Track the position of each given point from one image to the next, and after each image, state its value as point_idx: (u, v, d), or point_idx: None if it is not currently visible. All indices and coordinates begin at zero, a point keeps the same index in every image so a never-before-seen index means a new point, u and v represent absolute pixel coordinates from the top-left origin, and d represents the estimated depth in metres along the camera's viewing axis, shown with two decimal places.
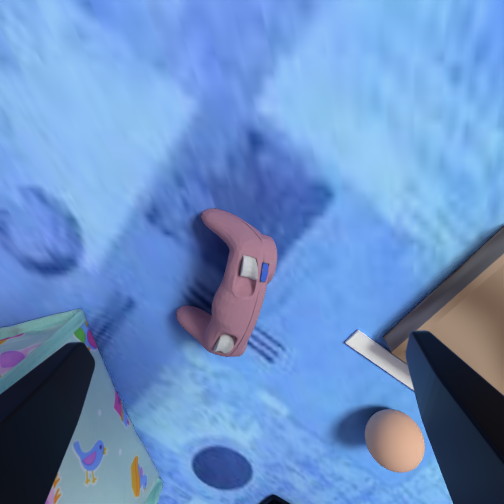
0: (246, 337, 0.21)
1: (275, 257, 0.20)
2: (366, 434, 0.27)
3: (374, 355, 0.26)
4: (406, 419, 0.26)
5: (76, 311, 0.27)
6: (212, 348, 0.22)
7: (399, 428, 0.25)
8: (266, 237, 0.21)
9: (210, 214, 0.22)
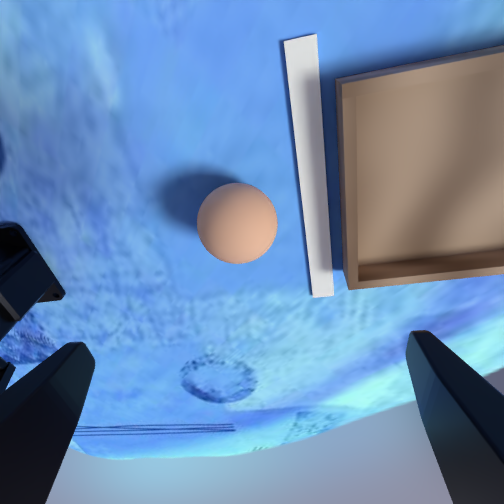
0: None
1: None
2: (210, 194, 0.17)
3: (302, 98, 0.16)
4: (273, 207, 0.18)
5: None
6: None
7: (260, 204, 0.17)
8: None
9: None
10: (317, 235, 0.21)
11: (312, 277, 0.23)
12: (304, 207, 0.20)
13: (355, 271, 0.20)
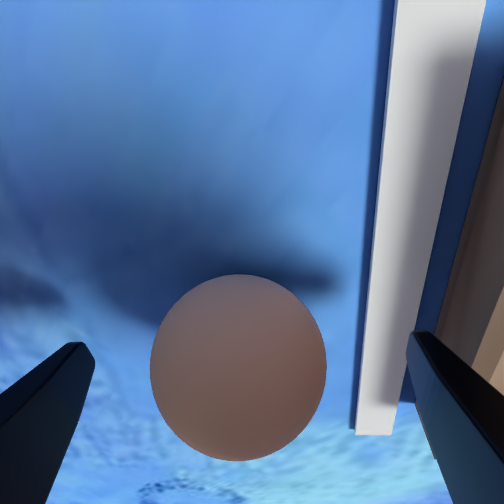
0: None
1: None
2: (182, 306, 0.08)
3: (417, 103, 0.07)
4: (320, 336, 0.08)
5: None
6: None
7: (299, 348, 0.07)
8: None
9: None
10: (385, 357, 0.11)
11: (360, 411, 0.13)
12: (370, 314, 0.10)
13: None
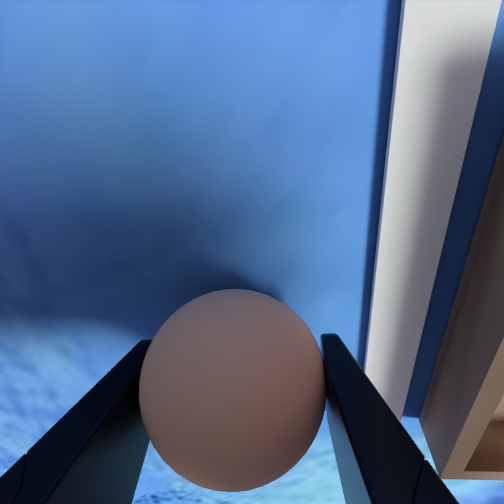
0: None
1: None
2: (172, 325, 0.07)
3: (425, 109, 0.06)
4: (320, 356, 0.08)
5: None
6: None
7: (298, 373, 0.06)
8: None
9: None
10: (388, 372, 0.11)
11: None
12: (373, 329, 0.10)
13: (464, 459, 0.10)
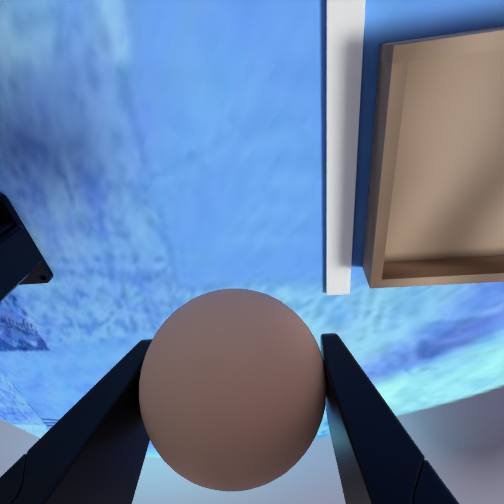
0: None
1: None
2: (172, 324, 0.07)
3: (340, 65, 0.14)
4: (320, 356, 0.08)
5: None
6: None
7: (298, 372, 0.06)
8: None
9: None
10: (340, 225, 0.19)
11: (328, 272, 0.21)
12: (328, 193, 0.18)
13: (380, 267, 0.18)
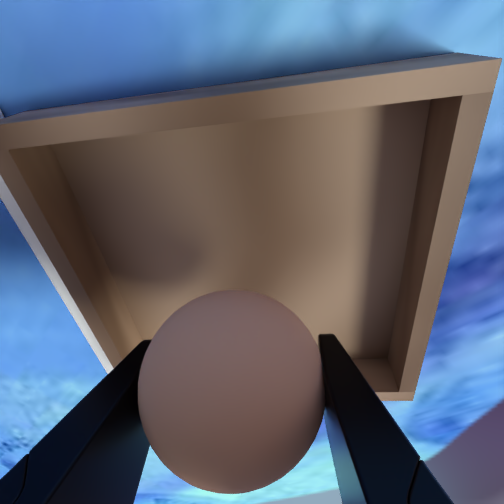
0: None
1: None
2: (171, 326, 0.07)
3: None
4: (319, 357, 0.08)
5: None
6: None
7: (297, 374, 0.06)
8: None
9: None
10: None
11: (107, 370, 0.16)
12: (57, 288, 0.13)
13: None
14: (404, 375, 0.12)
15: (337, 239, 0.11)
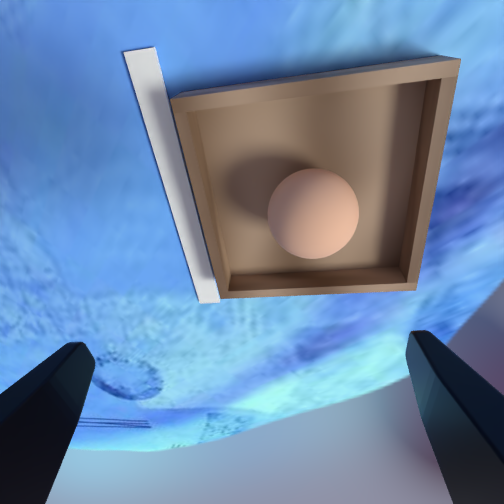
0: None
1: None
2: (287, 179, 0.15)
3: (152, 109, 0.16)
4: None
5: None
6: None
7: (348, 193, 0.15)
8: None
9: None
10: (192, 243, 0.21)
11: (195, 283, 0.23)
12: (174, 215, 0.20)
13: (222, 281, 0.20)
14: (410, 268, 0.18)
15: (367, 173, 0.17)
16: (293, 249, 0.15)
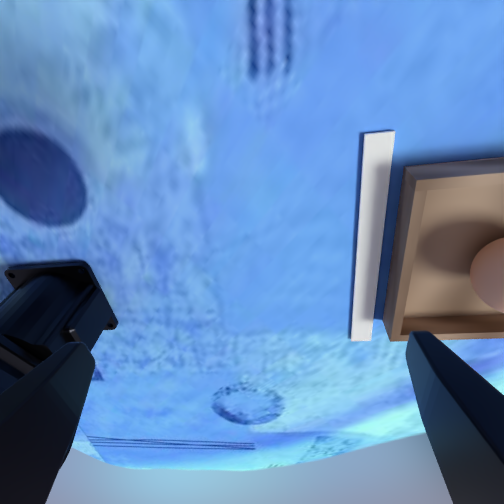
0: None
1: None
2: None
3: (372, 180, 0.18)
4: None
5: None
6: None
7: None
8: None
9: None
10: (365, 290, 0.23)
11: (353, 324, 0.25)
12: (357, 267, 0.22)
13: (399, 326, 0.22)
14: None
15: None
16: None
